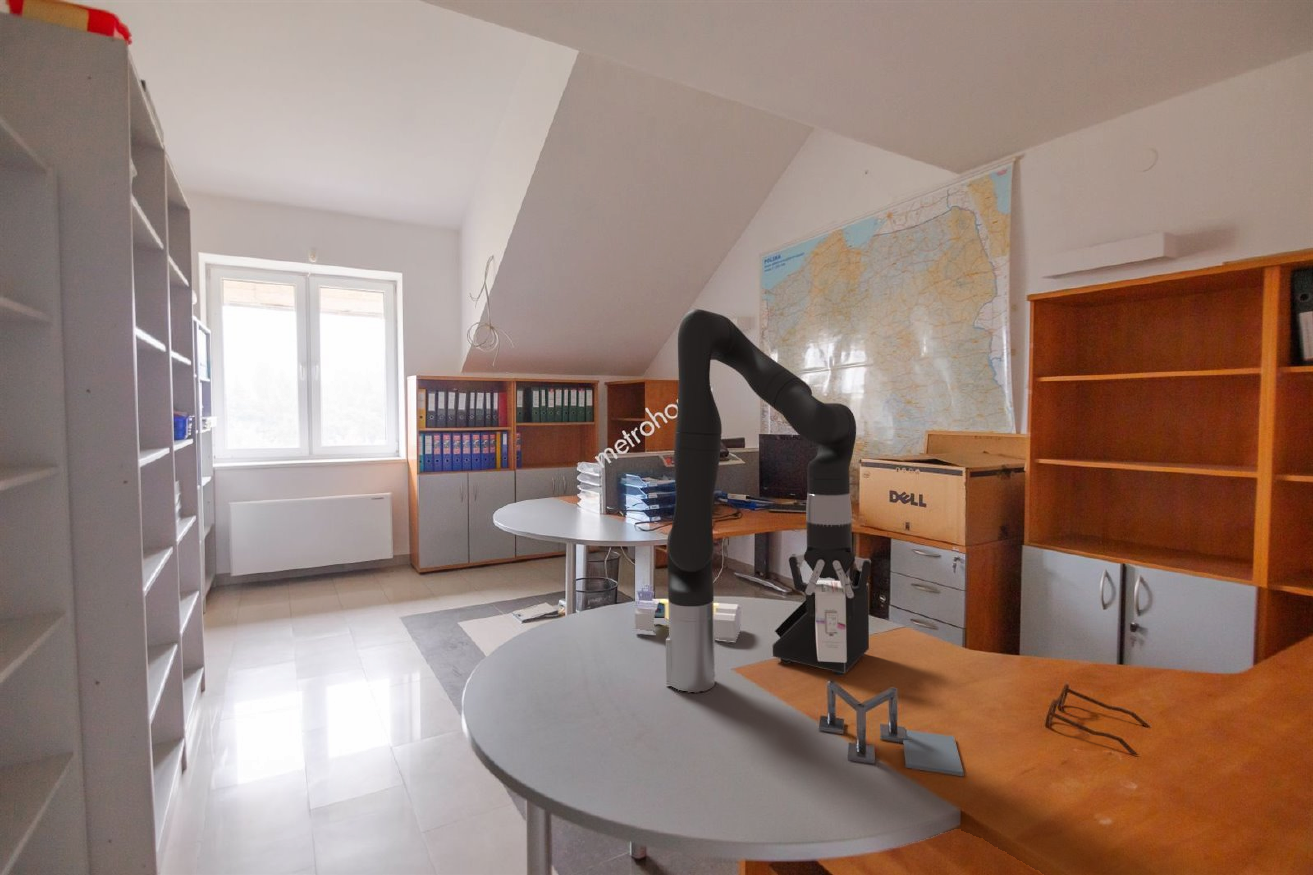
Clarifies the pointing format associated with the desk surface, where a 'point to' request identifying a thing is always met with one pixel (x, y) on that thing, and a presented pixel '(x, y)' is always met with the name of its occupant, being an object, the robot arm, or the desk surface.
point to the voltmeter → (801, 635)
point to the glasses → (1060, 705)
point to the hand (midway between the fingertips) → (830, 616)
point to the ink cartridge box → (830, 621)
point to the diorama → (649, 608)
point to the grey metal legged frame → (862, 721)
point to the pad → (932, 753)
